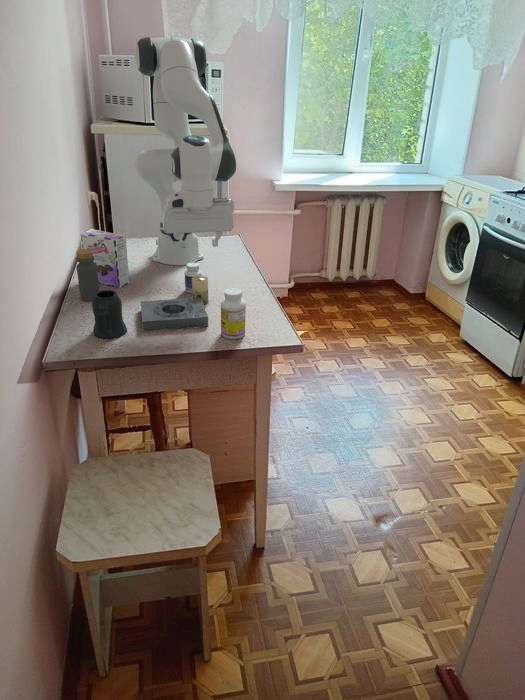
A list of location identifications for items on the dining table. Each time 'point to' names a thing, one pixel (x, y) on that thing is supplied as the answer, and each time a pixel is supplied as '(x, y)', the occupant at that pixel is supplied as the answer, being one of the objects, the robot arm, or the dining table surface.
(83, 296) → the bottle
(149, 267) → the dining table surface
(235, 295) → the supplement bottle
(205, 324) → the jig
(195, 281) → the gold rounded cylinder
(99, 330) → the dark grey flared cylinder
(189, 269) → the pill bottle
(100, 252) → the candy box
